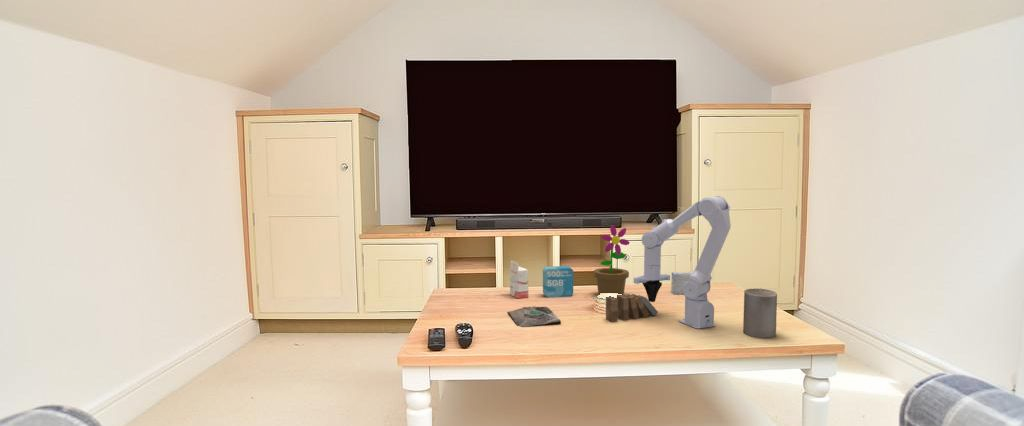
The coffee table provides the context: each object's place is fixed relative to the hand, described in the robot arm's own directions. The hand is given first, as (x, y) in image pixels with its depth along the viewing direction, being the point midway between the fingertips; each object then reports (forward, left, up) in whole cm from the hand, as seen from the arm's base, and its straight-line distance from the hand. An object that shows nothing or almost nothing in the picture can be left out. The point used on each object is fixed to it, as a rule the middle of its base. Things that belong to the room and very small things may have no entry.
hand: (651, 301), depth 198 cm
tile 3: (0, +8, -5) cm, 9 cm away
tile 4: (0, +12, -5) cm, 13 cm away
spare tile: (0, -1, -4) cm, 4 cm away
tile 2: (0, +4, -4) cm, 6 cm away
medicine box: (+21, -31, -5) cm, 38 cm away
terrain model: (+14, +41, -6) cm, 44 cm away
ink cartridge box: (+45, +33, -5) cm, 56 cm away
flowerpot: (+30, -2, -5) cm, 30 cm away
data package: (+39, +18, -5) cm, 43 cm away
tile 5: (0, +17, -5) cm, 18 cm away
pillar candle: (-32, -18, -5) cm, 37 cm away
